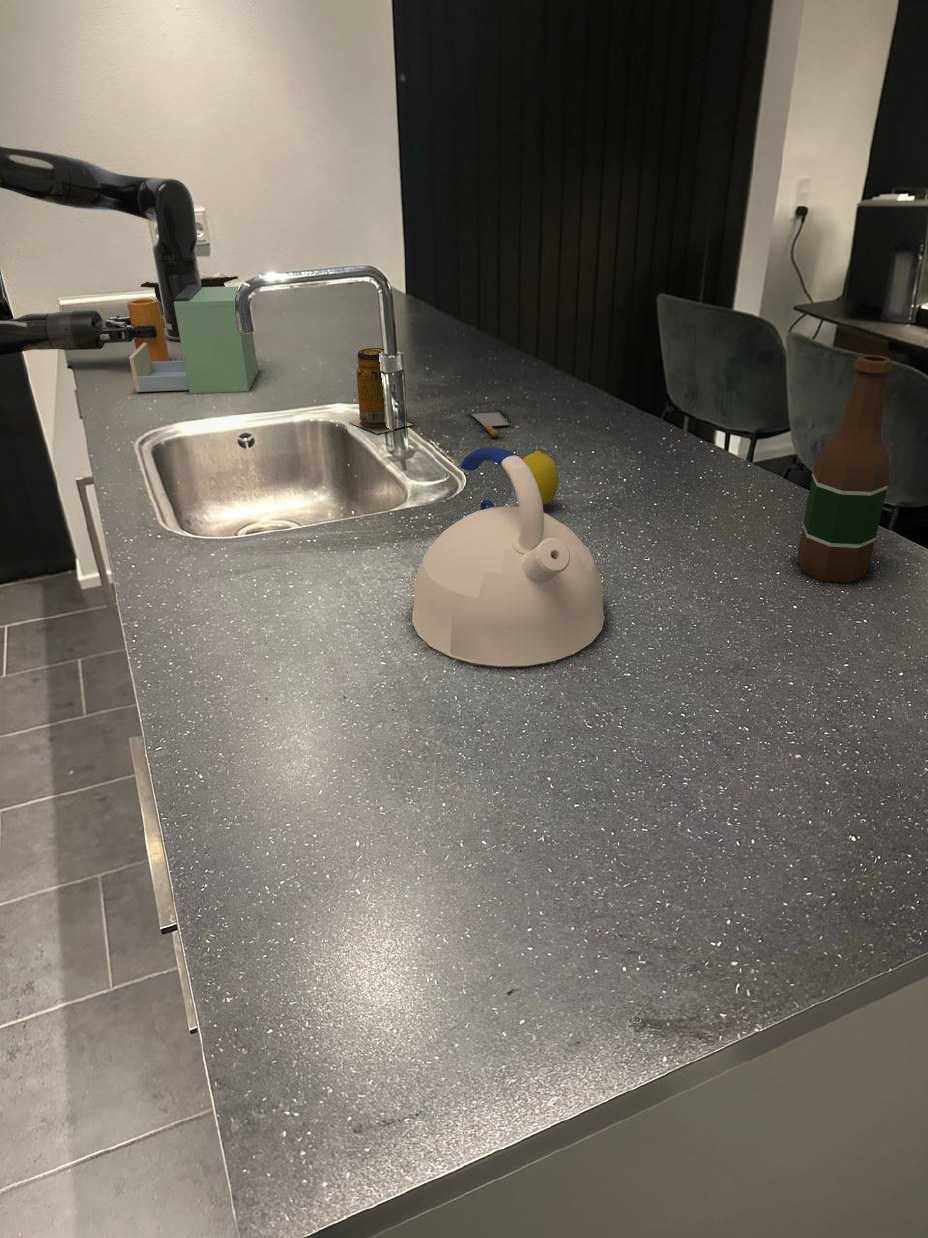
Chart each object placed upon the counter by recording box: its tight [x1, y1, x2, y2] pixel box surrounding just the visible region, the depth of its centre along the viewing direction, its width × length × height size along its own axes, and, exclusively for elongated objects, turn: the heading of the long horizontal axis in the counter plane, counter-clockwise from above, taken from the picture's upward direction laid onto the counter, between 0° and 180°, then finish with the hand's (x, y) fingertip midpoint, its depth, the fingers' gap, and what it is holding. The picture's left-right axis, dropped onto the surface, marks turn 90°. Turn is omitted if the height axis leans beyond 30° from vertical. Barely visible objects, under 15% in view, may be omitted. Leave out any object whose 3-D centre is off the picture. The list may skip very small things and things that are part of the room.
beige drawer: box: [128, 343, 189, 393], centre depth 173 cm, size 11×11×6 cm
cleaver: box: [470, 411, 510, 439], centre depth 150 cm, size 13×1×5 cm
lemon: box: [522, 450, 559, 506], centre depth 118 cm, size 6×6×8 cm
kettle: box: [411, 446, 605, 668], centre depth 91 cm, size 20×21×18 cm
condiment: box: [349, 347, 413, 434], centre depth 148 cm, size 7×8×12 cm
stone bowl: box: [140, 275, 239, 304], centre depth 235 cm, size 25×25×9 cm
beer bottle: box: [797, 354, 894, 584], centre depth 97 cm, size 8×8×24 cm
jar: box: [126, 297, 171, 362], centre depth 184 cm, size 6×6×13 cm
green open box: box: [174, 285, 259, 394], centre depth 171 cm, size 14×11×17 cm
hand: (159, 327), depth 183 cm, fingers closed on jar, 6 cm apart
